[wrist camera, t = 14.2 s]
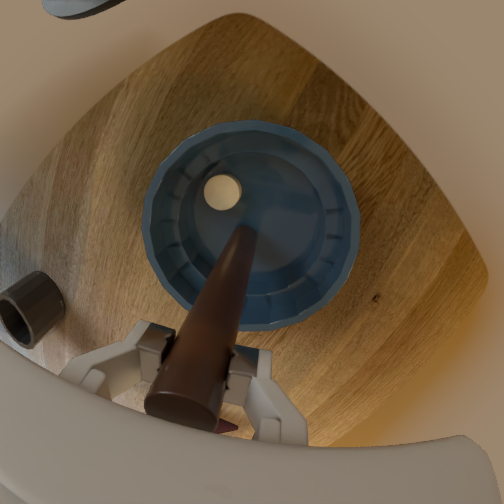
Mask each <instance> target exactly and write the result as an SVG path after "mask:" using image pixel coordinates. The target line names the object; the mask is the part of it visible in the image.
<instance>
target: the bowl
mask: <svg viewBox="0 0 504 504" xmlns="http://www.w3.org/2000/svg"><path fill="white" fill-rule="evenodd" d="M222 173H227V174H231V175H233V176H234V177H236V178H237V179H238V181H239V182H240V184H241V188H242V193H241V197H240V199H239V200H238V202H237V203H236V204H235V205H234V206H233V207H232V208H230V209H227V210H217V209H214V208H212V207H211V206H210V205H209V204H208V203H207V202H206V200H205V197H204V187H205V185H206V183H207V181H208V180H209V179H210V178H212V177H214V176H216V175H218V174H222ZM241 225H248V226H250V227H252V228H253V229H254V230H255V231H256V233H257V237H258V239H257V244H256V249H255V254H254V258H253V263H252V268H251V272H250V277H249V282H248V287H247V291H246V296H245V301H244V305H243V310H242V315H241V319H240V324H239V329H238V331H273V330H276V329H279V328H283V327H286V326H289V325H292V324H296V323H299V322H302V321H303V320H305V319H306V318H308V317H310V316H311V315H313V314H314V313H316V312H317V311H319V310H320V309H322V308H323V307H325V306H326V305H327V304H328V303H329V302H330V301H331V300H332V299H333V297H334V296H335V295H336V294H337V292H338V291H339V290H340V289H341V288H342V286H343V285H344V284H345V283H346V281H347V280H348V277H349V275H350V272H351V270H352V267H353V264H354V262H355V259H356V256H357V254H358V251H359V246H360V211H359V208H358V204H357V201H356V198H355V195H354V192H353V189H352V186H351V183H350V180H349V178H348V177H347V176H346V174H345V173H344V172H343V170H342V169H341V168H340V166H339V165H338V164H337V162H336V161H335V160H334V159H333V157H332V156H331V155H330V153H329V152H328V151H327V150H326V149H325V148H323V147H322V146H320V145H319V144H317V143H316V142H314V141H313V140H311V139H310V138H308V137H307V136H305V135H304V134H302V133H300V132H299V131H297V130H296V129H293V128H290V127H286V126H282V125H278V124H274V123H270V122H266V121H261V120H256V119H254V120H244V121H234V122H225V123H218V124H216V125H213V126H211V127H209V128H207V129H205V130H203V131H201V132H199V133H197V134H195V135H193V136H191V137H189V138H187V139H185V140H184V141H183V142H182V143H181V144H180V145H179V146H178V147H177V148H176V149H175V150H174V151H173V152H172V153H171V154H170V155H169V156H168V157H167V158H166V159H165V160H164V161H163V162H162V163H161V164H160V165H159V167H158V169H157V171H156V173H155V175H154V178H153V180H152V182H151V184H150V186H149V188H148V190H147V193H146V196H145V201H144V209H143V218H142V234H143V239H144V244H145V249H146V254H147V258H148V260H149V262H150V264H151V266H152V268H153V270H154V272H155V274H156V275H157V277H158V279H159V281H160V283H161V285H162V286H163V288H164V289H165V290H166V291H167V292H168V293H169V294H170V295H171V296H172V297H173V298H174V299H175V300H176V301H177V302H178V303H179V304H180V305H181V306H182V307H183V308H184V309H186V310H188V311H189V312H190V310H191V308H192V306H193V304H194V302H195V300H196V298H197V296H198V295H199V293H200V291H201V289H202V287H203V285H204V283H205V282H206V280H207V278H208V276H209V274H210V272H211V271H212V269H213V267H214V265H215V263H216V261H217V260H218V258H219V256H220V254H221V252H222V251H223V249H224V247H225V245H226V243H227V241H228V240H229V238H230V236H231V234H232V232H233V231H234V229H235V228H237V227H238V226H241Z"/></svg>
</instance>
